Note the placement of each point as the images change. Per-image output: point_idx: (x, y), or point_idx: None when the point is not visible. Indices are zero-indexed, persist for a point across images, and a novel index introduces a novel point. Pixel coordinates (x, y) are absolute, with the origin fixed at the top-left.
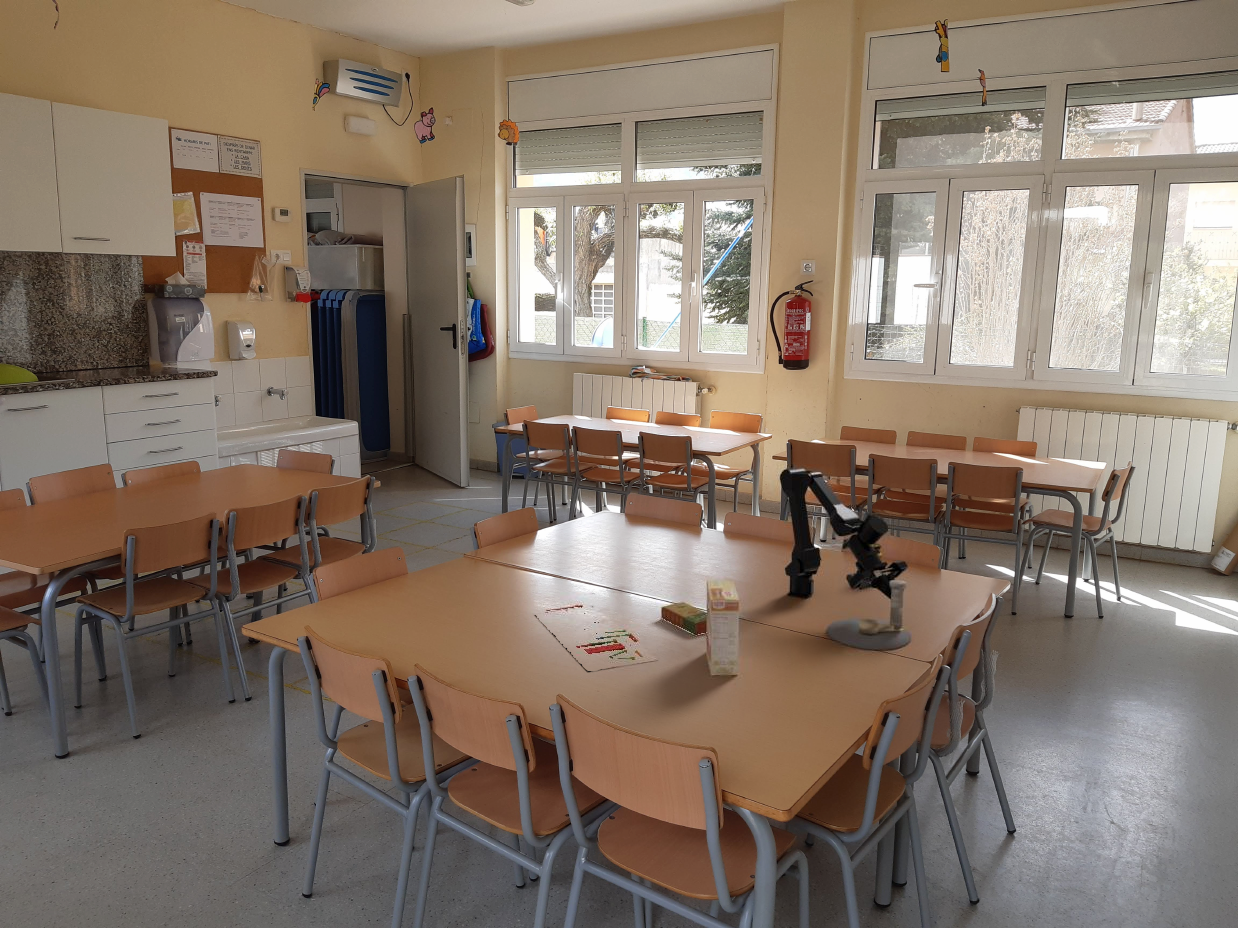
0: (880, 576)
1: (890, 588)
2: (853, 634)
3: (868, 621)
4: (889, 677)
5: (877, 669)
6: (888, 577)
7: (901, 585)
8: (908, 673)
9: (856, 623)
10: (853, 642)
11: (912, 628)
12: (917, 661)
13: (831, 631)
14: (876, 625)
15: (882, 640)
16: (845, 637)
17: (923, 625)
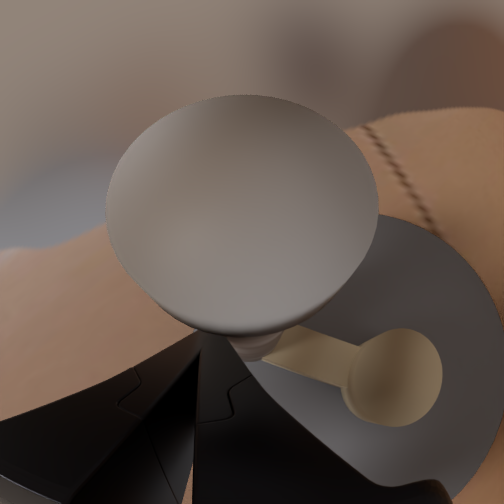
0: (422, 492)
1: (227, 371)
2: (443, 389)
3: (398, 385)
4: (481, 137)
5: (490, 170)
6: (117, 486)
7: (290, 108)
8: (439, 121)
9: None
10: (484, 322)
11: (145, 323)
12: (382, 135)
13: (478, 449)
14: (394, 329)
15: (391, 281)
16: (481, 375)
17: (84, 315)
